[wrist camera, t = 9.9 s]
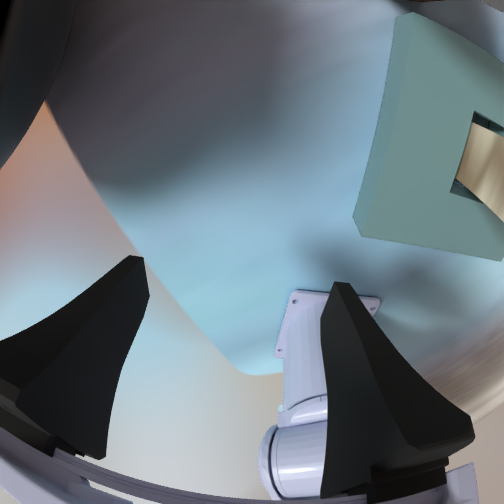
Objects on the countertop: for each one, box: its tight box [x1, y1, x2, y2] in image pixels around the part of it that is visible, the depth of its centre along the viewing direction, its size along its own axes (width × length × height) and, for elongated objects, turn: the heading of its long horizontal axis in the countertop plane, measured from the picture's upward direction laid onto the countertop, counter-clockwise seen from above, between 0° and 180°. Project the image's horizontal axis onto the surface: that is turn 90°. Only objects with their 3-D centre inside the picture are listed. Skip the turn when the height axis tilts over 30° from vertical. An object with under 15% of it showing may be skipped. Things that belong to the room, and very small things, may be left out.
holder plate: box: [353, 12, 504, 262], centre depth 14 cm, size 14×14×2 cm
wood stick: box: [455, 122, 504, 222], centre depth 11 cm, size 4×2×9 cm, turn 174°
